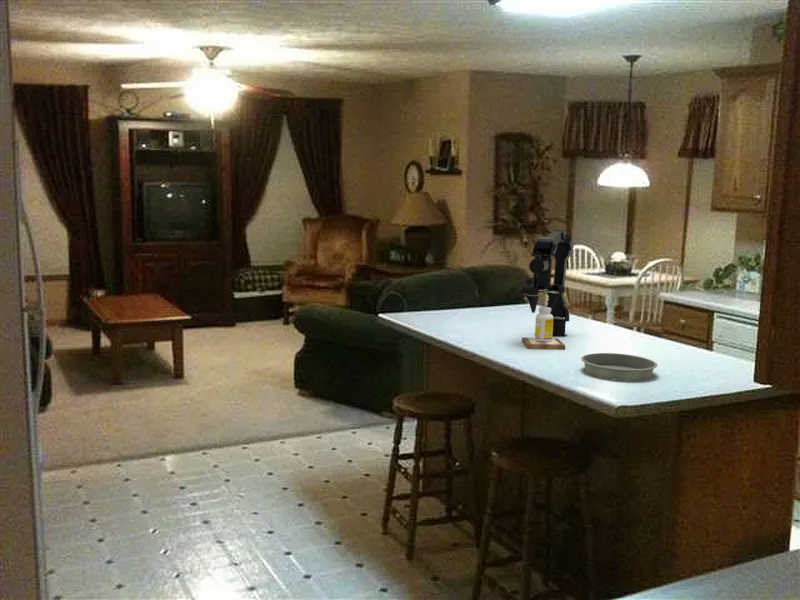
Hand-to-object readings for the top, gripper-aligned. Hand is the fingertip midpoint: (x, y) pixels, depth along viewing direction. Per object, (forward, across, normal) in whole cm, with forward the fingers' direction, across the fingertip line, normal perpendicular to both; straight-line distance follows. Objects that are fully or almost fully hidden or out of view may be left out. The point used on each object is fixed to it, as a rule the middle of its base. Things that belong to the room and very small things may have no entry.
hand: (541, 311), depth 317 cm
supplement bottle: (+11, 0, +2) cm, 11 cm away
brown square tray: (+13, 0, +2) cm, 13 cm away
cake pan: (+13, +11, +47) cm, 50 cm away
